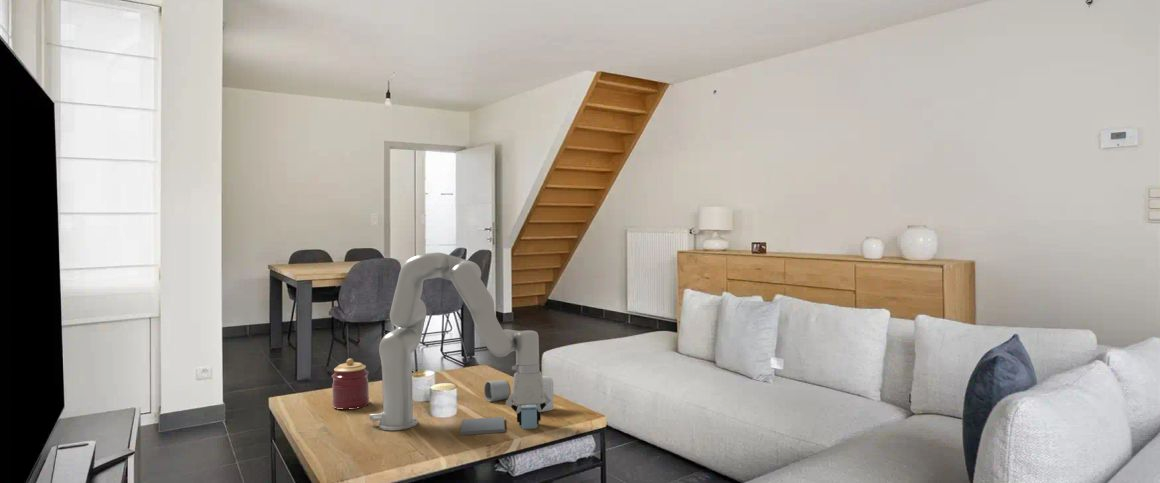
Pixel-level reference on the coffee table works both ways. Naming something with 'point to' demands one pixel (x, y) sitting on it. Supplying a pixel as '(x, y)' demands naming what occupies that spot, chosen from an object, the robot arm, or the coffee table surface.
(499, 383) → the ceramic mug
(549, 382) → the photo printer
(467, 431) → the slate pad
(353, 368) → the canister
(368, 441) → the coffee table surface
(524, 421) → the blue block
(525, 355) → the robot arm
